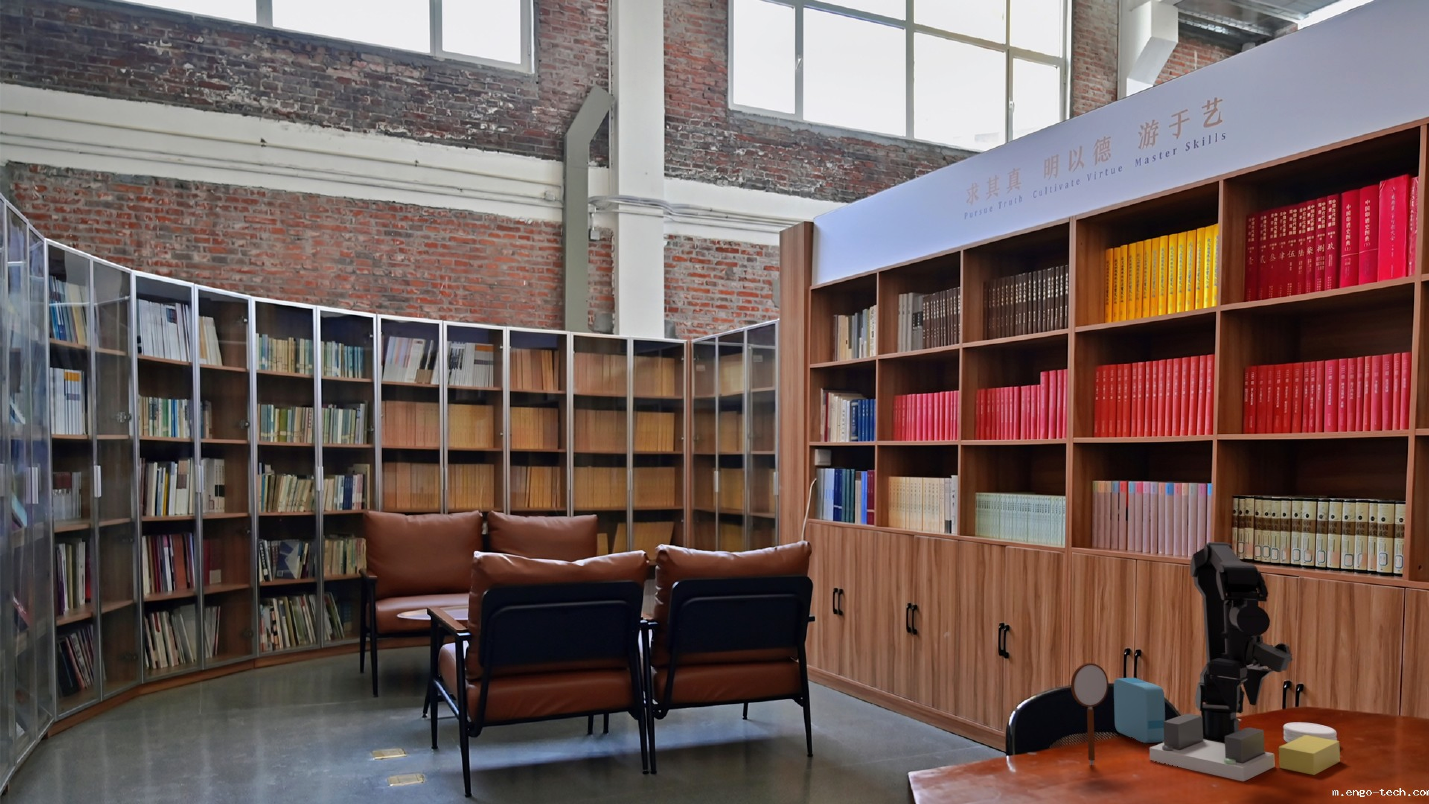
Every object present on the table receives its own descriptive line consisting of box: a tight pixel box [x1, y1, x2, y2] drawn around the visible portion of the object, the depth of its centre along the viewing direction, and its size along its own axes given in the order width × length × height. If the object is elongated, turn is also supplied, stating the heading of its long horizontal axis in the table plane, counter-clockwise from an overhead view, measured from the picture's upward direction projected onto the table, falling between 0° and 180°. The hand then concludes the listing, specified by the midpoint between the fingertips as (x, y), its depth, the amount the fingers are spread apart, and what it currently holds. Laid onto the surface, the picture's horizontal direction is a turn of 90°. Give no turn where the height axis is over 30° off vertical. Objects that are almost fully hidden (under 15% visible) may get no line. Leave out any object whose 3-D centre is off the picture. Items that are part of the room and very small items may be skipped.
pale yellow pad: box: [1278, 735, 1341, 776], centre depth 198 cm, size 6×14×4 cm, turn 131°
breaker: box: [1163, 712, 1204, 750], centre depth 204 cm, size 3×11×5 cm, turn 131°
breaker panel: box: [1149, 739, 1276, 782], centre depth 198 cm, size 18×15×3 cm
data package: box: [1113, 677, 1166, 744], centre depth 219 cm, size 12×4×12 cm, turn 11°
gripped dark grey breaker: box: [1224, 726, 1266, 764], centre depth 195 cm, size 3×11×5 cm, turn 131°
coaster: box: [1282, 721, 1338, 744], centre depth 214 cm, size 10×10×4 cm
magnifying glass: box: [1070, 662, 1109, 766], centre depth 198 cm, size 9×2×20 cm, turn 107°
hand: (1243, 708), depth 195 cm, fingers open, 9 cm apart
